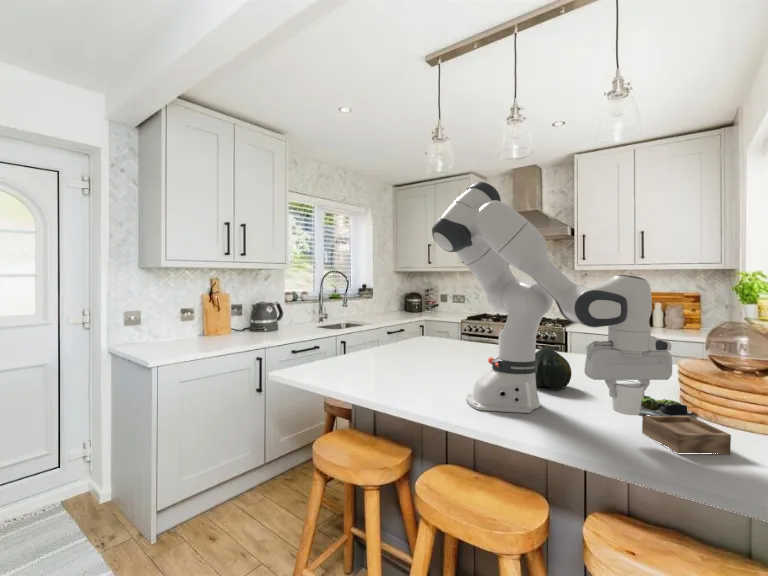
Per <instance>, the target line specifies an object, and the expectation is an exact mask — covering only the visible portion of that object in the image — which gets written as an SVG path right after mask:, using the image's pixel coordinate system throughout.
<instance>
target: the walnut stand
mask: <svg viewBox="0 0 768 576" xmlns="http://www.w3.org/2000/svg"><path fill="white" fill-rule="evenodd" d="M641 421H642V422H641V423H642V424H641V425H642V426H641V427H642V428H641V434H643V433H644V434H646V435H647V436H646V435H645V436H646V437H648V436H649V437H651V438H652V439H651V438H650V439H651V440H653V439H654V440H656V441H658V442H660V443H662V444H663V445H665V446H667V447H669V448H670V449H672V450H674V451H675V452H677V453H712V454H711V455H731V448H732V447H731V445H732V444H731V443H732V442H731V441H732V434H731V433H727V432H725V431H723V430H721V429H719V428H717V427H715V426H712V425H710V424H708V423H705V422H704V421H701V420H699V419H697V418H694V417H693V416H691V417H690V416H645V415H642V420H641ZM644 434H643V435H644ZM649 437H648V438H649ZM654 440H653V441H654ZM656 441H655V442H656ZM658 442H657V443H658ZM663 445H662V446H663ZM713 453H714V454H713ZM715 453H716V454H715ZM717 453H718V454H717Z"/></svg>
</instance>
